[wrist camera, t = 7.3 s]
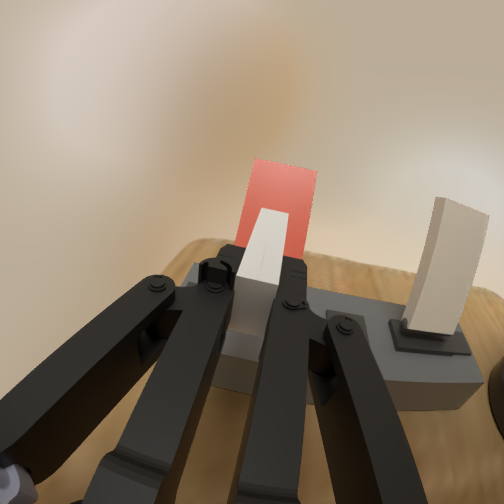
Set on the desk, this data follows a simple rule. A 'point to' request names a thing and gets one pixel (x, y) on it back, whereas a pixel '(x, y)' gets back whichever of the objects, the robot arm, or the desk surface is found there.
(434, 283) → the white rocker
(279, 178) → the red upright block
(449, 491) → the desk surface
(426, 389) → the grey slotted base
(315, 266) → the desk surface
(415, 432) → the desk surface
